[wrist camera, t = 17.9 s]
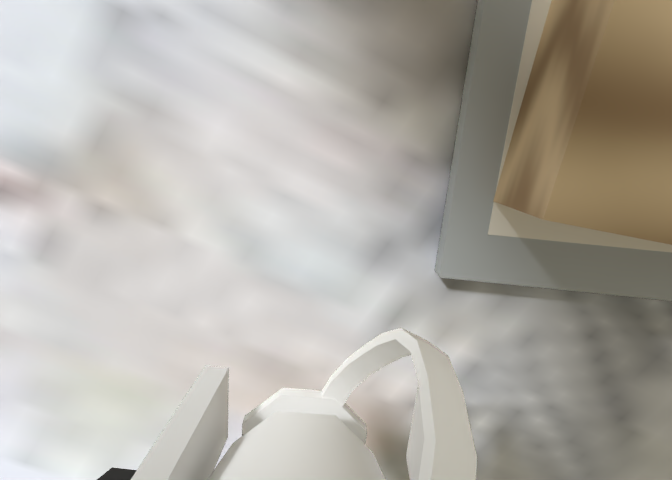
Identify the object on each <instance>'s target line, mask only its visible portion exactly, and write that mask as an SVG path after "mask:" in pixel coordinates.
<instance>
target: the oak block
mask: <svg viewBox="0 0 672 480" xmlns="http://www.w3.org/2000/svg"><path fill="white" fill-rule="evenodd" d="M493 201H494V202H496V203H499V204H502V205H505V206H507V207H510V208H513V209H515V210H518V211H521V212H524V213H526V214H529V215H532V216H534V217H537V218H540V219H542V220H547V221H552V222H557V223H562V224H568V225H573V226H578V227H583V228H588V229H593V230H598V231H603V232H609V233H614V234H619V235H624V236H629V237H634V238H639V239H644V240H650V241H655V242H660V243H665V244H670V245H672V0H552V1H551V4H550V8H549V11H548V15H547V18H546V22H545V25H544V28H543V32H542V35H541V39H540V42H539V46H538V49H537V52H536V56H535V59H534V63H533V66H532V70H531V73H530V76H529V80H528V83H527V87H526V90H525V94H524V97H523V100H522V104H521V107H520V111H519V114H518V118H517V121H516V124H515V128H514V131H513V135H512V138H511V142H510V145H509V148H508V152H507V155H506V159H505V162H504V166H503V169H502V172H501V176H500V179H499V183H498V186H497V190H496V193H495V196H494V200H493Z"/></svg>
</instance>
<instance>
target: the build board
mask: <svg viewBox="0 0 672 480" xmlns="http://www.w3.org/2000/svg"><path fill="white" fill-rule="evenodd" d="M551 1H552V0H478V2H477V8H476V14H475V21H474V27H473V33H472V39H471V46H470V52H469V58H468V64H467V71H466V77H465V83H464V90H463V96H462V102H461V108H460V115H459V121H458V127H457V133H456V140H455V146H454V152H453V158H452V165H451V171H450V177H449V184H448V190H447V196H446V202H445V209H444V215H443V221H442V227H441V234H440V240H439V246H438V252H437V259H436V265H435V272H436V273H437V275H438V276H439V278H449V279H458V280H468V281H478V282H488V283H498V284H508V285H517V286H527V287H537V288H547V289H557V290H567V291H576V292H586V293H596V294H606V295H616V296H626V297H635V298H645V299H655V300H665V301H672V245H670V244H665V243H660V242H655V241H650V240H644V239H639V238H634V237H629V236H624V235H619V234H614V233H609V232H603V231H598V230H593V229H588V228H583V227H578V226H573V225H568V224H562V223H557V222H552V221H547V220H542V219H540V218H537V217H534V216H532V215H529V214H526V213H524V212H521V211H518V210H515V209H513V208H510V207H507V206H505V205H502V204H499V203H496V202H494V201H493V200H494V196H495V193H496V190H497V186H498V183H499V179H500V176H501V172H502V169H503V166H504V162H505V159H506V155H507V152H508V148H509V145H510V142H511V138H512V135H513V131H514V128H515V124H516V121H517V118H518V114H519V111H520V107H521V104H522V100H523V97H524V94H525V90H526V87H527V83H528V80H529V76H530V73H531V70H532V66H533V63H534V59H535V56H536V52H537V49H538V46H539V42H540V39H541V35H542V32H543V28H544V25H545V22H546V18H547V15H548V11H549V8H550V4H551Z"/></svg>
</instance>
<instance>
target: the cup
mask: <svg viewBox="0 0 672 480" xmlns="http://www.w3.org/2000/svg"><path fill="white" fill-rule="evenodd" d="M409 355H411V356H412V360H413V364H414V368H415V372H416V376H417V380H418V384H419V392H420V402H421V412H422V421H423V431H424V444H423V451H422V458H421V465H420V472H419V480H476V471H477V455H476V451H475V446H474V441H473V437H472V432H471V427H470V423H469V418H468V414H467V409H466V404H465V400H464V395H463V391H462V389H461V386H460V384H459V381H458V379H457V376H456V374H455V372H454V369H453V367H452V364H451V362H450V359H449V357H448V355H446V354H445V353H444V352H442V351H441V350H440V349H438V348H437V347H435V346H434V345H433V344H431V343H430V342H429V341H427V340H425V339H423V338H421V337H419V336H416V335H414V334H412V333H410V332H408V331H406V330H404V329H402V328H399V329H395V330H391V331H388V332H384V333H381V334H380V335H378V336H377V337H376V338H374V339H373V340H371V341H370V342H368V343H367V344H365V345H364V346H363V347H361V348H360V349H359V350H357V351H356V352H355V353H353V354H352V355H351V356H349V357H348V358H347V359H346V360H345V361H344V363H343V364H342V365H341V366H340V367H339V368H338V369H337V370H336V371H335V372H334V373H333V374H332V375H331V377H330V379H329V380H328V382H327V383H326V385H325V387H324V388H323V390H309V389H295V388H282V389H280V390H279V391H278V392H276V393H275V394H274V395H272V396H271V397H269V398H268V399H267V400H265V401H264V402H263V403H261V404H260V405H259V406H257V407H256V408H255V409H253V410H252V411H251V412H249V413H248V414H247V415H245V417H244V420H243V424H242V437H241V438H239V439H238V440H236V441H235V442H234V443H233V444H232V445H231V447H230V448H229V450H228V451H227V452H226V454H225V455H224V457H223V458H222V459H221V461H220V462H219V464H218V465H217V467H216V468H215V469H214V471H213V472H212V474H211V475H210V477H209V478H208V479H207V480H386V479H385V477H384V475H383V473H382V471H381V469H380V467H379V465H378V462H377V460H376V458H375V456H374V454H373V452H372V451H371V450H370V449H369V448H368V447H367V446H366V445H365V443H366V436H367V428H366V424H365V423H364V422H363V421H362V420H361V419H360V417H359V416H358V415H357V414H356V413H355V412H354V411H353V410H352V409H351V408H350V407H349V406H348V405H347V404H346V403H345V402H346V400H347V399H348V397H349V396H350V394H351V392H352V391H353V390H354V389H355V388H356V387H357V386H358V385H360V384H361V383H362V382H363V381H364V380H365V379H366V378H367V377H368V376H369V375H371V374H373V373H375V372H376V371H378V370H380V369H381V368H383V367H385V366H386V365H388V364H390V363H392V362H394V361H396V360H398V359H400V358H402V357H405V356H409Z"/></svg>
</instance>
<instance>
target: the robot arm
mask: <svg viewBox="0 0 672 480" xmlns="http://www.w3.org/2000/svg"><path fill="white" fill-rule="evenodd" d="M228 386H229V368H227V367H218V366H208V365H205V367H204V368H203V370H202V372H201V373H200V375H199V376H198V378H197V379H196V381H195V382H194V384H193V385H192V387H191V388H190V390H189V391H188V393H187V394H186V396H185V397H184V399H183V401H182V402H181V404H180V405H179V407H178V408H177V410H176V411H175V413H174V414H173V416H172V417H171V419H170V420H169V422H168V423H167V425H166V426H165V428H164V429H163V431H162V433H161V434H160V436H159V437H158V439H157V440H156V442H155V443H154V445H153V446H152V448H151V449H150V451H149V452H148V454H147V455H146V457H145V458H144V460H143V462H142V463H141V465H140V466H139V468H138V469H137V470H129V469H119V468H111V469H110V470H109V471H107V472H106V473H105V474H104V475H102V476H101V477H100V478H99V479H97V480H207V479H208V478H209V477H210V475H211V474H212V472H213V471H214V469H215V466H216V464H217V461H218V459H219V457H220V454H221V452H222V450H223V447H224V445H225V443H226V440H227V438H228ZM423 444H424V431H423V421H422V412H421V402H420V392H419V387H417V393H416V399H415V405H414V411H413V417H412V423H411V429H410V435H409V441H408V447H407V453H406V460H407V466H408V472H409V478H410V480H419V472H420V465H421V458H422V451H423Z"/></svg>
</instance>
